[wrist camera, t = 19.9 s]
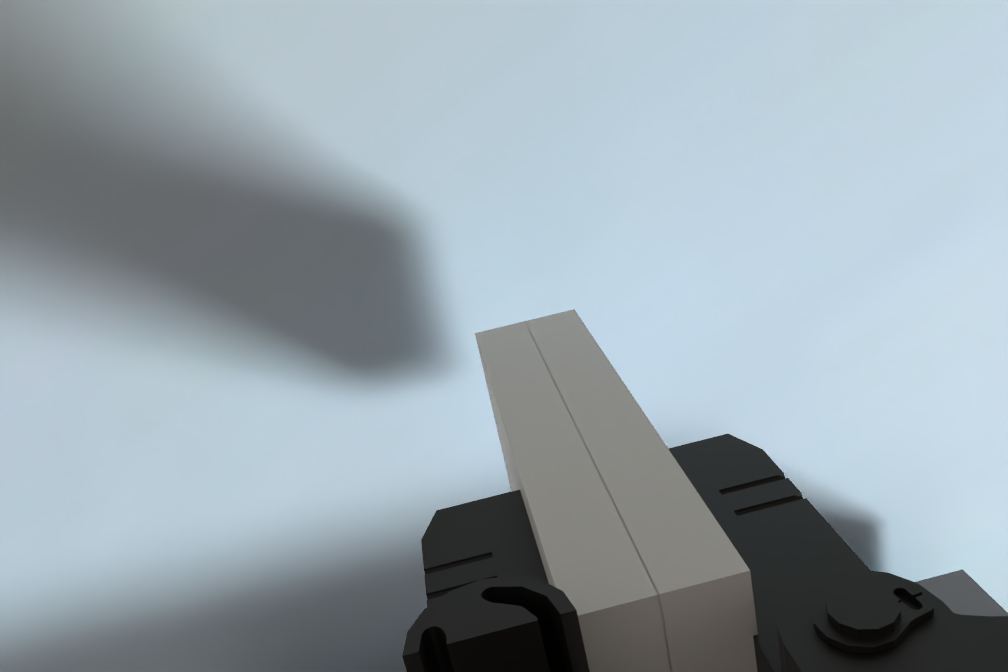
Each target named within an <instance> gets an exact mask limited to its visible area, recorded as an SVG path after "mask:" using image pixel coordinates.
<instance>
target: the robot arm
mask: <svg viewBox="0 0 1008 672" xmlns="http://www.w3.org/2000/svg"><path fill="white" fill-rule="evenodd" d="M475 335H476V340H477V344H478V348H479V353H480V357H481V361H482V366H483V370H484V374H485V379H486V383H487V387H488V392H489V396H490V400H491V404H492V409H493V413H494V417H495V422H496V426H497V430H498V435H499V439H500V443H501V448H502V452H503V456H504V460H505V465H506V469H507V473H508V478H509V482H510V486H511V491H512V492H508V493H504V494H500V495H496V496H492V497H489V498H485V499H481V500H477V501H473V502H469V503H465V504H461V505H457V506H453V507H449V508H445V509H441V510H437V511H436V513H435V515H434V517H433V518H432V520H431V522H430V524H429V526H428V528H427V530H426V532H425V534H424V536H423V538H422V540H421V541H422V552H423V563H424V571H425V585H426V594H427V599H428V600H427V606H428V607H427V608H426V609H425V610H424V611H423V612H422V614H421V615H420V616H419V618H418V619H417V620H416V622H415V623H414V624H413V626H412V627H411V628H410V630H409V631H408V633H407V637H406V642H405V646H404V651H403V655H402V656H403V660H404V663H405V666H406V669H407V672H1008V616H975V615H961V614H956V613H953V612H952V611H951V609H950V608H949V607H948V606H947V605H946V604H945V603H944V602H943V601H942V600H940V599H939V598H937V597H936V596H935V595H933V594H932V593H931V592H929V591H928V590H926V589H925V588H924V587H922V586H921V585H920V584H918V583H915V582H912V581H909V580H907V579H904V578H901V577H898V576H895V575H893V574H890V573H885V572H876V571H870V570H869V569H868V568H867V567H866V565H865V564H864V563H863V562H862V561H861V560H860V559H859V558H858V556H857V555H856V554H855V553H854V552H853V551H852V550H851V549H850V547H849V546H848V545H847V544H846V543H845V542H844V541H843V540H842V538H841V537H840V536H839V535H838V534H837V533H836V532H835V531H834V529H833V528H832V527H831V526H830V525H829V524H828V523H827V521H826V520H825V519H824V518H823V517H822V516H821V515H820V514H819V512H818V511H817V510H816V509H815V508H814V507H813V506H812V505H811V503H810V502H809V501H808V500H807V499H803V497H802V494H801V492H800V491H799V490H798V489H797V488H796V487H795V485H794V484H793V483H792V482H791V481H790V480H789V479H788V478H786V479H785V476H784V473H783V472H782V471H781V470H780V469H779V467H778V466H777V465H776V464H775V463H774V462H773V461H772V460H771V458H770V457H769V456H768V455H767V454H766V453H765V452H764V451H763V450H762V449H760V448H758V447H756V446H754V445H752V444H749V443H747V442H745V441H743V440H741V439H738V438H736V437H734V436H732V435H730V434H725V435H721V436H717V437H713V438H709V439H705V440H701V441H697V442H693V443H689V444H685V445H681V446H677V447H673V448H670V449H668V448H667V446H666V445H665V443H664V442H663V440H662V439H661V437H660V436H659V434H658V433H657V431H656V430H655V428H654V427H653V425H652V424H651V423H650V421H649V420H648V418H647V417H646V415H645V414H644V412H643V411H642V409H641V408H640V406H639V405H638V403H637V402H636V400H635V399H634V397H633V396H632V394H631V393H630V391H629V390H628V388H627V387H626V385H625V384H624V382H623V381H622V379H621V378H620V377H619V375H618V374H617V372H616V371H615V369H614V368H613V366H612V365H611V363H610V362H609V360H608V359H607V357H606V356H605V354H604V353H603V351H602V350H601V348H600V347H599V345H598V344H597V342H596V341H595V339H594V338H593V336H592V335H591V334H590V332H589V331H588V329H587V328H586V326H585V325H584V323H583V322H582V320H581V319H580V317H579V316H578V314H577V313H576V311H575V310H570V311H566V312H561V313H557V314H553V315H549V316H545V317H541V318H537V319H533V320H528V321H524V322H520V323H516V324H512V325H508V326H504V327H500V328H495V329H491V330H487V331H483V332H479V333H475Z"/></svg>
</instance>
